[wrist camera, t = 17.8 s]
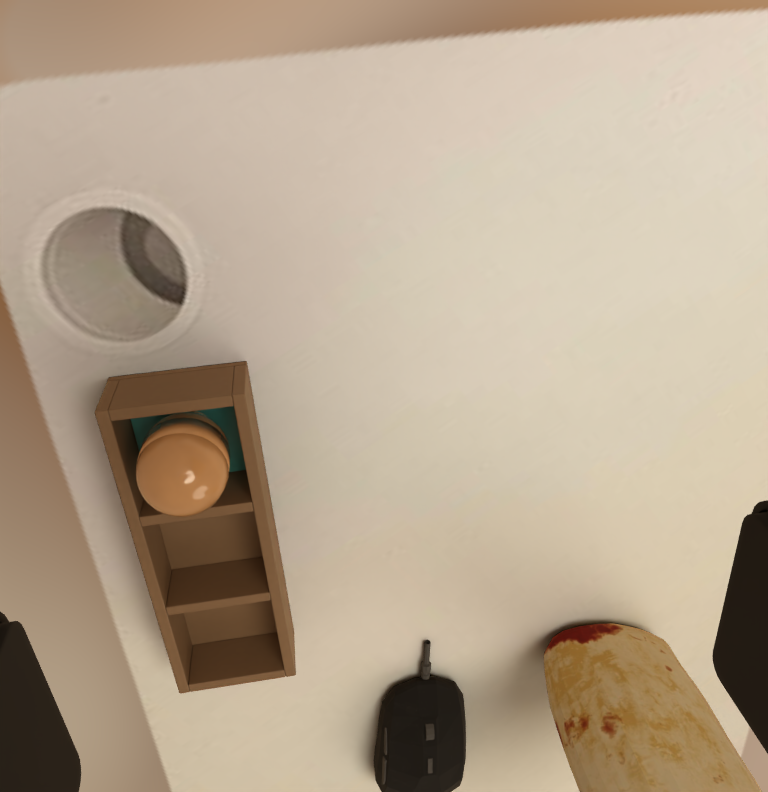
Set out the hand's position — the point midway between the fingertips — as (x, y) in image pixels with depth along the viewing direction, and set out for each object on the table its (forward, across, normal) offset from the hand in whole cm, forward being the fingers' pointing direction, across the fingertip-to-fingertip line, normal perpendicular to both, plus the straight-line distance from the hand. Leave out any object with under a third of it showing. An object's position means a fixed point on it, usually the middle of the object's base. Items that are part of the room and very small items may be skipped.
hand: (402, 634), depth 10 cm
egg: (+26, +7, +12) cm, 29 cm away
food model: (+26, -16, +32) cm, 45 cm away
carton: (+26, +7, +18) cm, 33 cm away
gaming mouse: (+26, -4, +37) cm, 46 cm away
